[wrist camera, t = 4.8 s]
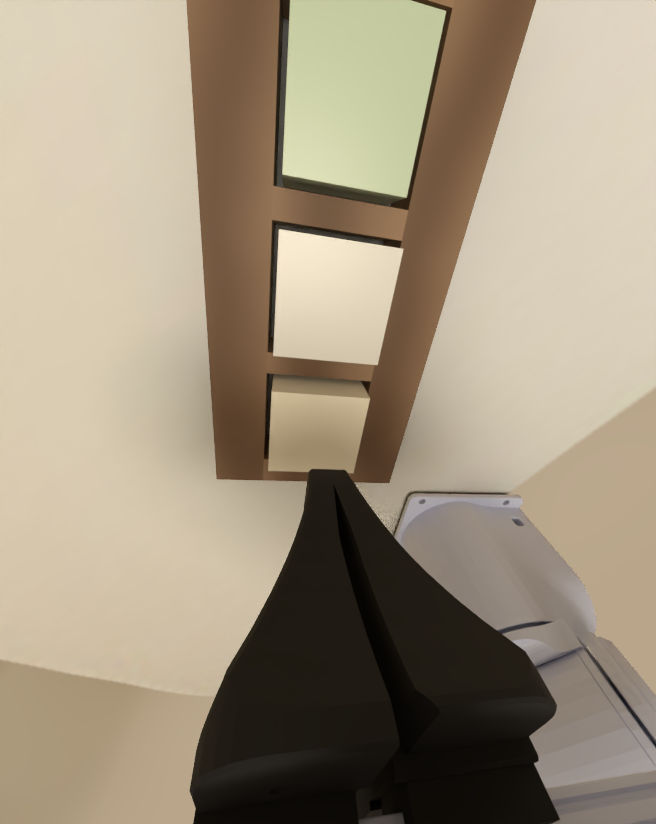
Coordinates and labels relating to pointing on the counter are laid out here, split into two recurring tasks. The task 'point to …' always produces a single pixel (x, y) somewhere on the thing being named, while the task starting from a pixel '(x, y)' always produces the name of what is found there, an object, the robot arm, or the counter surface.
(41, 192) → the counter surface
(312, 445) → the cream key
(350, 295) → the ivory key
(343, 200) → the keypad board
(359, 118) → the sage key
